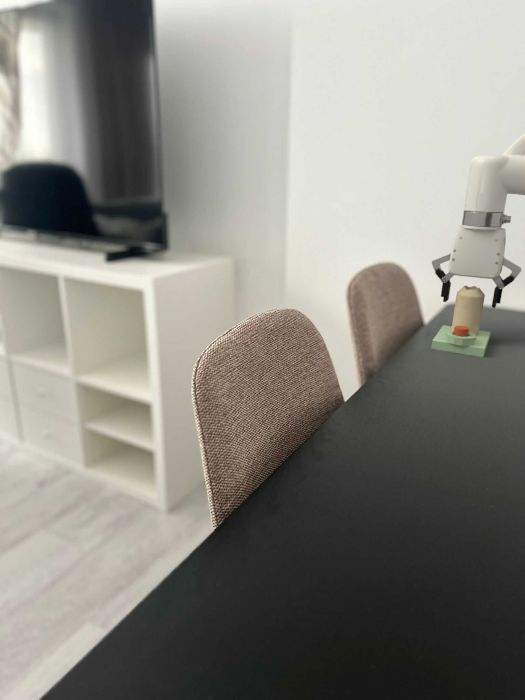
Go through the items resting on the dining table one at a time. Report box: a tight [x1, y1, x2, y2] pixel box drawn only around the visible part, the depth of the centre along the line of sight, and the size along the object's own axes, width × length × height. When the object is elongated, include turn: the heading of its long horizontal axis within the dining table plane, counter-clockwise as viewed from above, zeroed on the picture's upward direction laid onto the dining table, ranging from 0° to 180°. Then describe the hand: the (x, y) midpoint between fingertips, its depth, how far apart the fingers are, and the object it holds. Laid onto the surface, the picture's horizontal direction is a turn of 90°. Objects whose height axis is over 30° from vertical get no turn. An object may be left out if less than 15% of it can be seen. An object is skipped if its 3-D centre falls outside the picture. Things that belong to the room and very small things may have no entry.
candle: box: [451, 285, 486, 335], centre depth 109 cm, size 6×6×10 cm
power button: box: [453, 326, 469, 337], centre depth 104 cm, size 3×3×2 cm
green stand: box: [431, 324, 491, 358], centre depth 108 cm, size 10×14×4 cm
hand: (469, 303), depth 109 cm, fingers open, 9 cm apart
